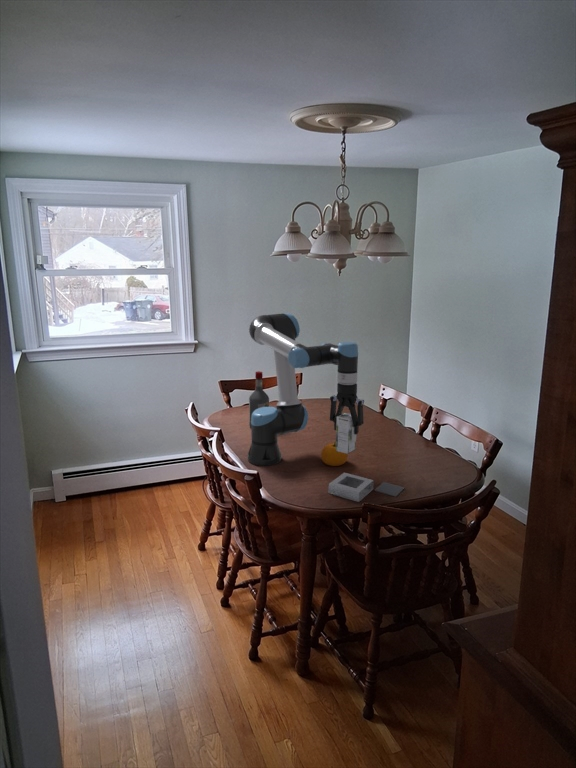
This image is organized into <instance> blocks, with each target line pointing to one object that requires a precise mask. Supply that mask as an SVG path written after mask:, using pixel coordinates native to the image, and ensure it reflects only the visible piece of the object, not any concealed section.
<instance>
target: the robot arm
mask: <svg viewBox="0 0 576 768" xmlns="http://www.w3.org/2000/svg"><path fill="white" fill-rule="evenodd" d="M248 330H249V331H248V332H249V335H250V337H251V339H252V340H253V341H254V342H256V343H257V344H259V345H261V346H264V345H265V346H267V347H268V348H270V349H272V350H273V353H274V363H275V372H276V381H277V390H278V391H277V393H278V401H277V403H275V404H276V406H275V407H274V406H269V407H261V408H258V409H256V410H255V411H253V413H252V416H251V428H250V429H251V435H250V436H251V443H250V447H249V449H248V452H247V461H248V463H251V464H253V465H255V466H262V467H263V466H266V467H267V466H272V465H277V464H279V463H280V462H281V461H282V453H281V450H280V447H279V444H278V443H279V442H278V436H282V435H286V434H290V433H291V434H292V433H297V432H299V431H302V430H305V428H306V427H307V425H308V422H309V412H308V410H307V408H306V406H304V405H303V404H302V403H303V402H302V401H301V399H299V397H298V387H297V379H296V369H298V368H299V369H304V368H309V367H316V366H324V365H335V366H337V382H338V383H337V387H336V390H337V393H336V395H335V394H334V395H331V396H330V397H329V399H330V411H329V413H330V414H329V420H330V421H331V422H333V424H334V425H333V430H334V431H335V432H336V422H337V416H339V415H341V414H343V410H344V408H345V407H347V408H348V410H349V414H351V417H352V421H353V426H352V439H351V443H354V442H355V441H357V435H358V434H359V429H360V428H359V427H361V426H363V424H364V403H365V399H359V398H358V396H357V393H358V367H359V366H358V362H359V350H358V349H359V345H358V344H357V343H356V342H353V341H341V342H338V344H337V345H336V344H334V343H331V342H330V343H329V342H328V343H327V342H323V343H321V344H320V345H314V346H312V345H311V346H306V345H304V344H302V343H300V342H298V341H296V339H297V338H298V337H299V335H300V331H301V329H300V324H299V321H298V319H297V318H296V317H295V316H294V315H293V314H291V313H275V314H263V315H259V316H257V317H255V318H254V319H253V320H252V321H251V322H250V324H249V328H248ZM337 401H338V406H337ZM356 405H357V410H356Z"/></svg>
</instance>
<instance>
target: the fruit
mask: <svg viewBox="0 0 576 768" xmlns="http://www.w3.org/2000/svg"><path fill="white" fill-rule="evenodd" d="M320 456H321V460H322V462H323V463H324V464H325V465H327V466H332V467H339V466H341V465H343V464H345V463H346V461H347V460H348V457H349V455H348V454H347V453H342V452H338V451H336V441H334V442H333V443H328V444H326V445H325V446H324V447H323V449H322V450H321V453H320Z"/></svg>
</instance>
